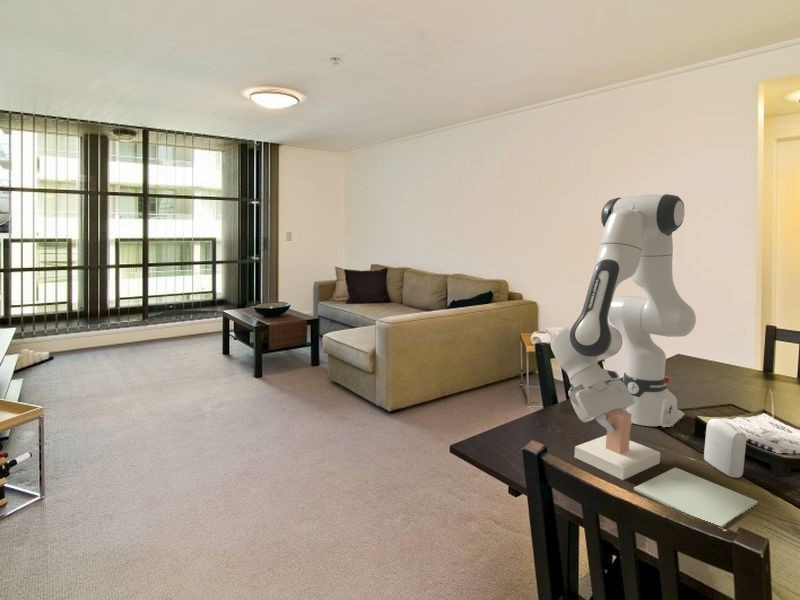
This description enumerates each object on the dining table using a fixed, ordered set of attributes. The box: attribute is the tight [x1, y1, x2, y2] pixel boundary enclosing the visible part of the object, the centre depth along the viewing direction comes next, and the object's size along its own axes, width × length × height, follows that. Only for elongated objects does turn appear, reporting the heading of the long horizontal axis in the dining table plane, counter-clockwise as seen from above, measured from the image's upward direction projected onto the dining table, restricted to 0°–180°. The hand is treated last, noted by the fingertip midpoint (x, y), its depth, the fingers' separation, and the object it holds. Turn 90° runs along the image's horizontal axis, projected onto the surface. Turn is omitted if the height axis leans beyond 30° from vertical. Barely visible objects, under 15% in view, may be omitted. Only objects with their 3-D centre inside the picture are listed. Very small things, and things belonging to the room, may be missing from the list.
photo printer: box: [703, 418, 747, 479], centre depth 121 cm, size 10×4×12 cm, turn 3°
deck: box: [573, 434, 661, 481], centre depth 126 cm, size 16×14×3 cm
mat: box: [633, 467, 759, 528], centre depth 109 cm, size 18×18×1 cm
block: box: [606, 409, 632, 454], centre depth 125 cm, size 4×4×10 cm
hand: (621, 428), depth 124 cm, fingers open, 5 cm apart
